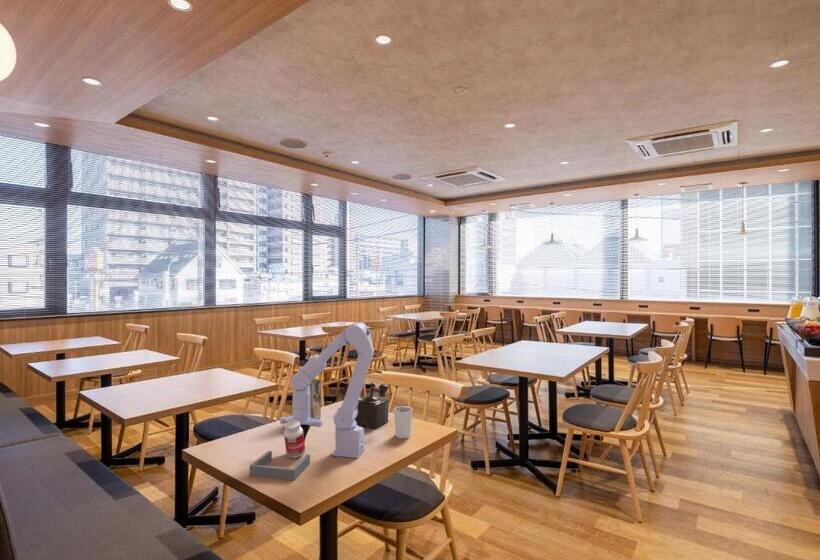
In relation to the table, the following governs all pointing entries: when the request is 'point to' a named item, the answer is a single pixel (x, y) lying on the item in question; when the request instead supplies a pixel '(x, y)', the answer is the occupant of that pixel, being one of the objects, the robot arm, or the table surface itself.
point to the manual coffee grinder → (373, 409)
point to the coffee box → (315, 399)
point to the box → (277, 468)
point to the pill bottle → (294, 439)
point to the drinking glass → (403, 422)
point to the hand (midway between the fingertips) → (300, 445)
